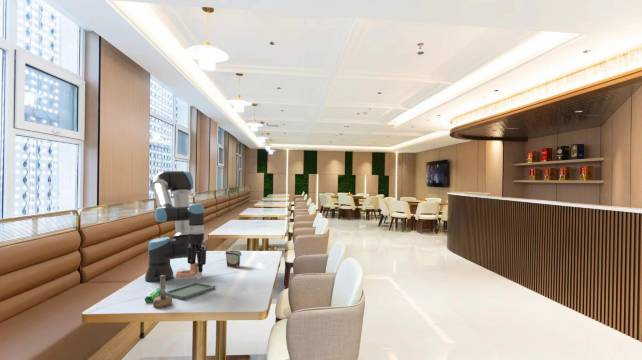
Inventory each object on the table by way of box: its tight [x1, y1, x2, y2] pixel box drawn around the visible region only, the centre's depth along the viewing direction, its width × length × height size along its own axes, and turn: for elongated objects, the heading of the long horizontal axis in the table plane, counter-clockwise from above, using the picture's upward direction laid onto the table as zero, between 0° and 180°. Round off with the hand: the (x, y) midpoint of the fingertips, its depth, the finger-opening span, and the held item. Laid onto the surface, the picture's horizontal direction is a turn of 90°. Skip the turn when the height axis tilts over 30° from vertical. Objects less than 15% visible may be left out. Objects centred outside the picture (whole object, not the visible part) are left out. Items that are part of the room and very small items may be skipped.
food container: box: [224, 250, 242, 269], centre depth 236 cm, size 12×6×10 cm, turn 58°
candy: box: [144, 288, 160, 304], centre depth 174 cm, size 12×3×4 cm
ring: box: [175, 262, 198, 280], centre depth 183 cm, size 9×13×5 cm
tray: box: [165, 281, 216, 301], centre depth 184 cm, size 20×15×2 cm
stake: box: [152, 275, 173, 309], centre depth 165 cm, size 8×8×14 cm
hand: (196, 277), depth 187 cm, fingers closed on ring, 3 cm apart
